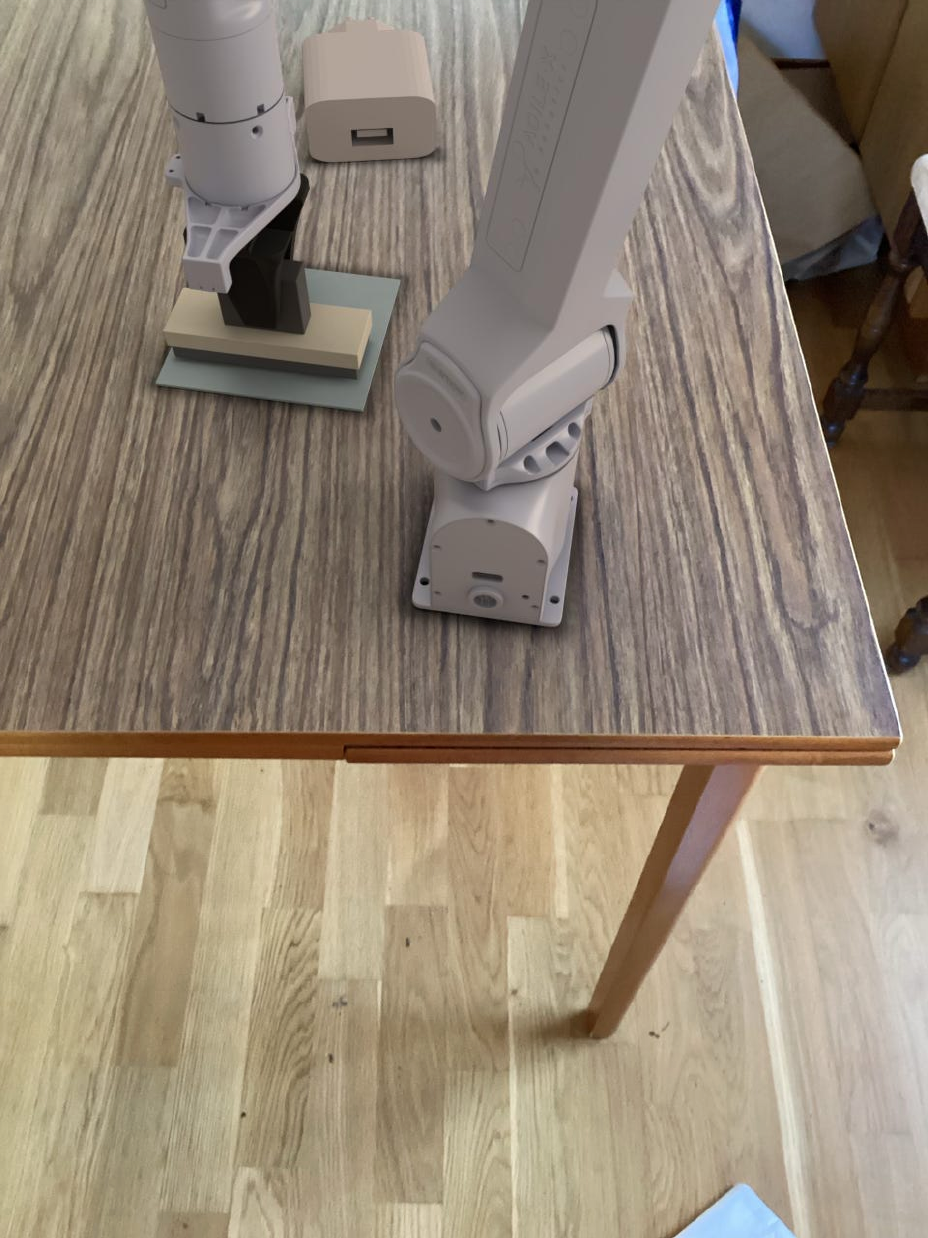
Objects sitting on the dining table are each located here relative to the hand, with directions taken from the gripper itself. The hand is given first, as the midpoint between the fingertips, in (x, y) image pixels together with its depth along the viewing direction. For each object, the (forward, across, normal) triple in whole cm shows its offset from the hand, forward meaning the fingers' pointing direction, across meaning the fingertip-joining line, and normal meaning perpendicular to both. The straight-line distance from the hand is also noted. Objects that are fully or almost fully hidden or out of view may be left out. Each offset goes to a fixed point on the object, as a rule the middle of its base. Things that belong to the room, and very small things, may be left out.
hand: (266, 309), depth 62 cm
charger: (+4, -28, 0) cm, 28 cm away
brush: (+3, 0, 0) cm, 3 cm away
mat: (+3, -2, 0) cm, 4 cm away
